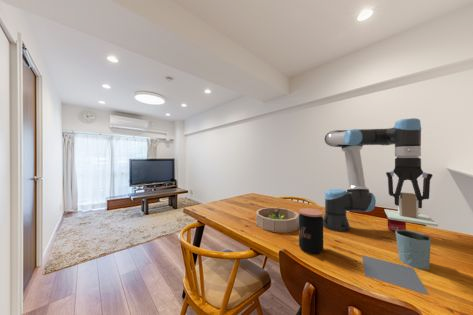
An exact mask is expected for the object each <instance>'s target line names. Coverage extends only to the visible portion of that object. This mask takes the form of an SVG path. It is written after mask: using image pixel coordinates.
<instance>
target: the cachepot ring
mask: <svg viewBox="0 0 473 315" xmlns="http://www.w3.org/2000/svg"><path fill="white" fill-rule="evenodd" d="M276 209H277V211H278V210H279V209H280V210H281V212H279V215H280V217H281V216H284V217H283V218H287V219H286V220H281V219H271V218H266V217H270V216H269V215H271V216H272V214H273V215H275V214H274V213H273V212H271V213H269V211H274V212H275V210H276ZM255 213H256V214H255V221H256V222H255V224H256V226H258V228H260V229H262V230H265V231H268V232H273V233H290V232H294V231H297V230H298V229H299V213H298V212H296V211H295V210H291V209H289V208H284V207H283V208H282V207H272V206H270V207H261V208H259V209H258V210H256V211H255ZM275 213H276V212H275Z"/></svg>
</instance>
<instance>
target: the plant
mask: <svg viewBox="0 0 473 315" xmlns="http://www.w3.org/2000/svg"><path fill="white" fill-rule="evenodd" d="M271 212H273V213H274V214H275V215H273V214H272V216H271V215H269V216H270V217H266V218H271V219H281V220H286V219H287V218H283V217H284V216H281V217H280V215H279V212H281V210H280V209H279V210H278V211H277V209H276V210H275V212H276V213H275V212H274V211H269V213H271Z"/></svg>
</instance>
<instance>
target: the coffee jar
mask: <svg viewBox="0 0 473 315" xmlns="http://www.w3.org/2000/svg"><path fill="white" fill-rule="evenodd" d="M298 215H299V227H298V245H299V246H298V247H299V248H300V250H301V251H302V252H304V253H306V254H308V255H315V256H316V255H320V254H322V253H323V252H324V226H323V218H324V212H323V211H322V210H320V209H315V208H309V207H308V208H307V207H305V208H300V209H299V210H298Z"/></svg>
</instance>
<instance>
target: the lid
mask: <svg viewBox="0 0 473 315" xmlns="http://www.w3.org/2000/svg"><path fill="white" fill-rule="evenodd" d="M399 197H400V198H401V199H402V215H400V214H399V213H398V210H393V209H387V208H386V209H385V208H384V212H385V214H386V217H387V219H388V218H389V219H391V220H398V221H404V222H406V223H412V224H419V225H425V226H432V227H439V223H437V222H436V221H435V220H433V219H432V218H431V217H430V216H429V215H428V214H425V213H418V217H416V199H417V198H416V195H415V193H414V192H413V193H412V192H403V191H401V193H400V196H399Z"/></svg>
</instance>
